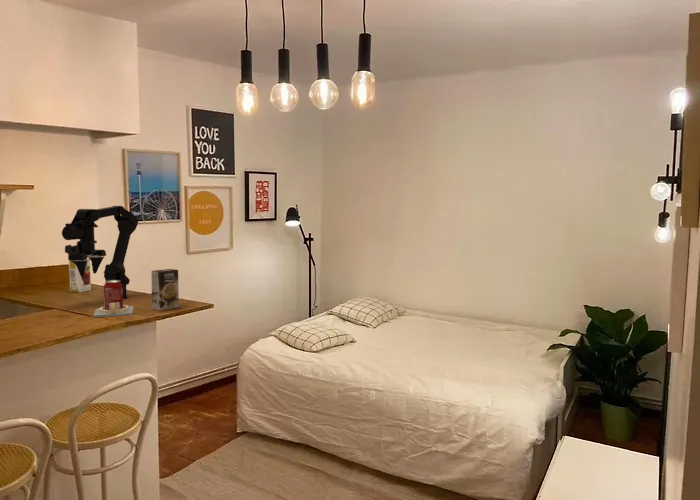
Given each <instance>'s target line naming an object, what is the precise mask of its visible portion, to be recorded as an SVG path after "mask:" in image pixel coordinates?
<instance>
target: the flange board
mask: <svg viewBox="0 0 700 500" xmlns="http://www.w3.org/2000/svg"><path fill="white" fill-rule="evenodd" d="M133 315H134V305H131V306H130V305H126V304H123V308H122V309H118V310H115V303H111V310H105V306H100V307H98V308H96V309H95V310H94V313H93V316H92V317H93V319H94V318H108V317H123V316H133Z"/></svg>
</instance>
